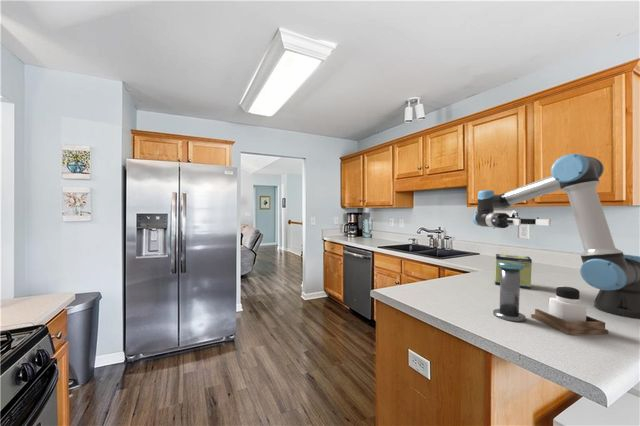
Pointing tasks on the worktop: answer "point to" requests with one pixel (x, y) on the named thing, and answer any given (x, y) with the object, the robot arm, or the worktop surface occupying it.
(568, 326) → the notched board
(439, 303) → the worktop surface
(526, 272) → the protein box
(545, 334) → the worktop surface
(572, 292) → the medicine bottle
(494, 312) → the bobbin post
